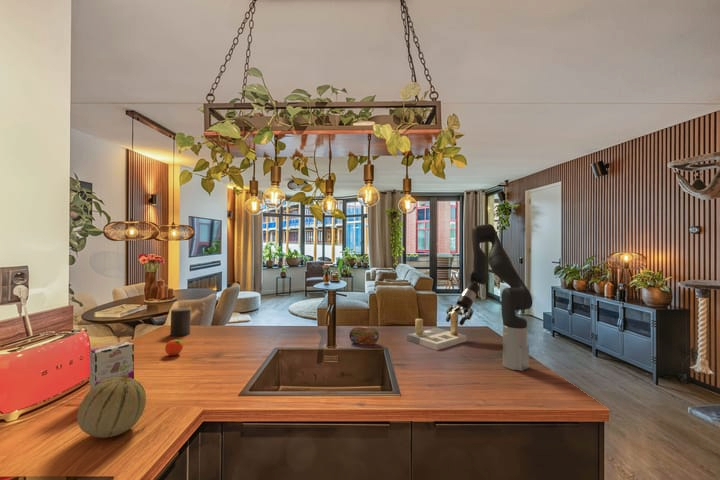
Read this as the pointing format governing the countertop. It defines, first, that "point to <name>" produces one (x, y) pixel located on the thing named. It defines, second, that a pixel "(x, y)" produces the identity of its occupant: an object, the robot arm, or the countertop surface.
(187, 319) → the pillar candle
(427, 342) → the pegboard
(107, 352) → the candy bar box
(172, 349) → the red tomato
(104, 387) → the cantaloupe
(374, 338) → the tin
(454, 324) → the brass pin
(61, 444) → the countertop surface
